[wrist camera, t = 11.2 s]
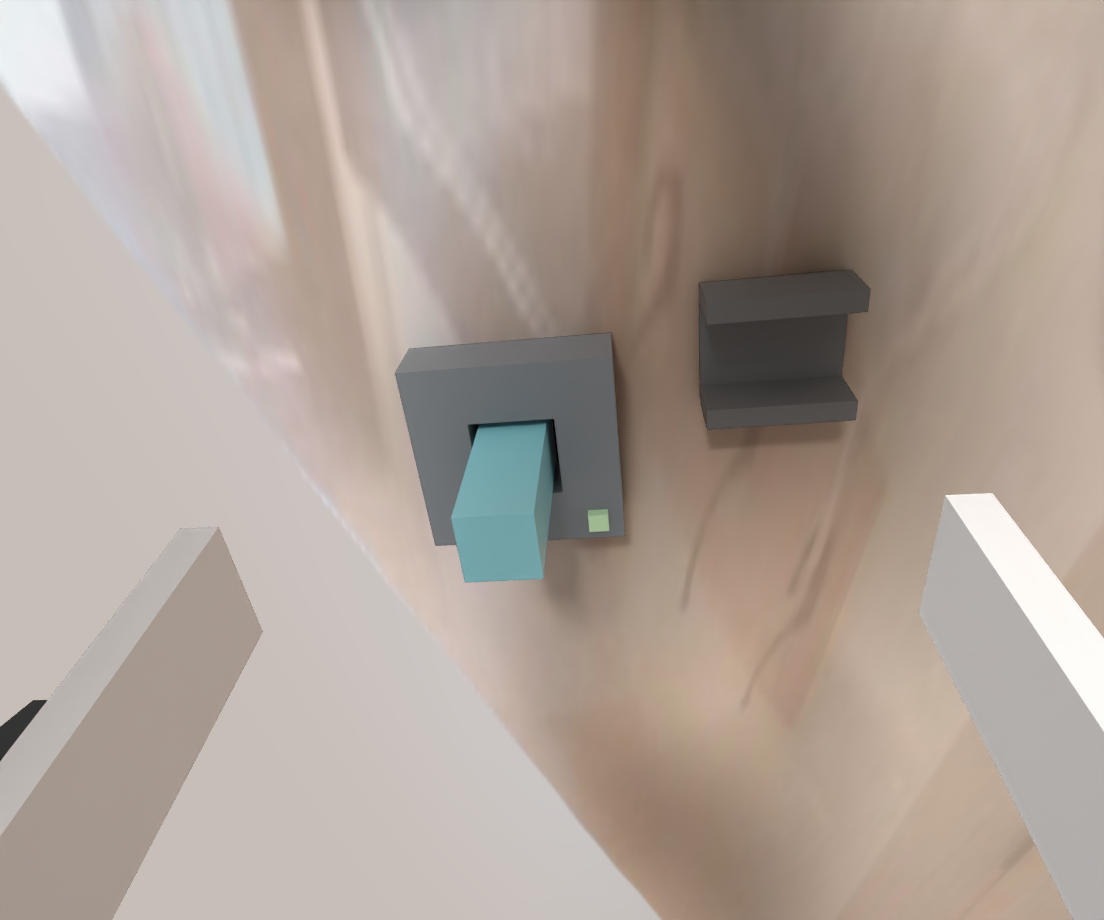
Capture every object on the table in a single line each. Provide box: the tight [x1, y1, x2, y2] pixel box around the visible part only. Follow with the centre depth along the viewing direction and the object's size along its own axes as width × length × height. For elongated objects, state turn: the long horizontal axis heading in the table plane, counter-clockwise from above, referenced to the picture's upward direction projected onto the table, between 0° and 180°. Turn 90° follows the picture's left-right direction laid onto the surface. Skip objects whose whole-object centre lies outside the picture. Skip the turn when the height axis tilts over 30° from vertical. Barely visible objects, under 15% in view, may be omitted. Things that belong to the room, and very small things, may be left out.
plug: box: [451, 419, 556, 582], centre depth 42 cm, size 4×4×12 cm
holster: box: [699, 270, 870, 430], centre depth 41 cm, size 7×8×4 cm
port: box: [395, 333, 625, 546], centre depth 45 cm, size 12×12×4 cm
